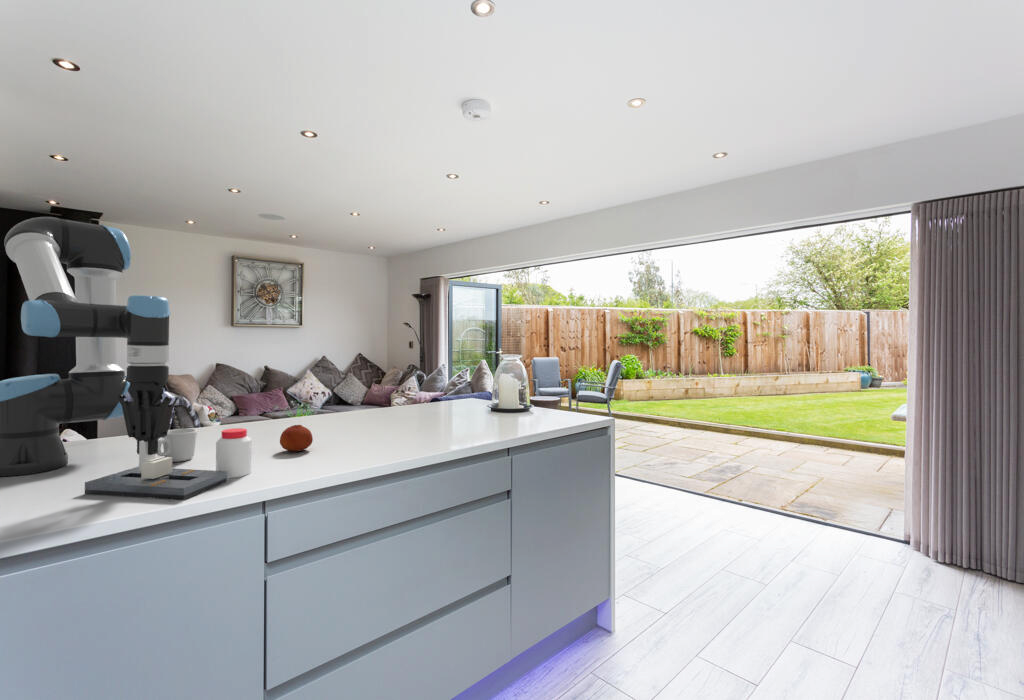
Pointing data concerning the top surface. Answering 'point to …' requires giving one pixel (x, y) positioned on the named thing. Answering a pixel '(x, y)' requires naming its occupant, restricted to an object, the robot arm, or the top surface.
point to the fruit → (296, 438)
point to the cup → (178, 444)
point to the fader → (156, 468)
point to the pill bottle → (234, 452)
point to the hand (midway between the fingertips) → (147, 468)
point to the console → (157, 484)
